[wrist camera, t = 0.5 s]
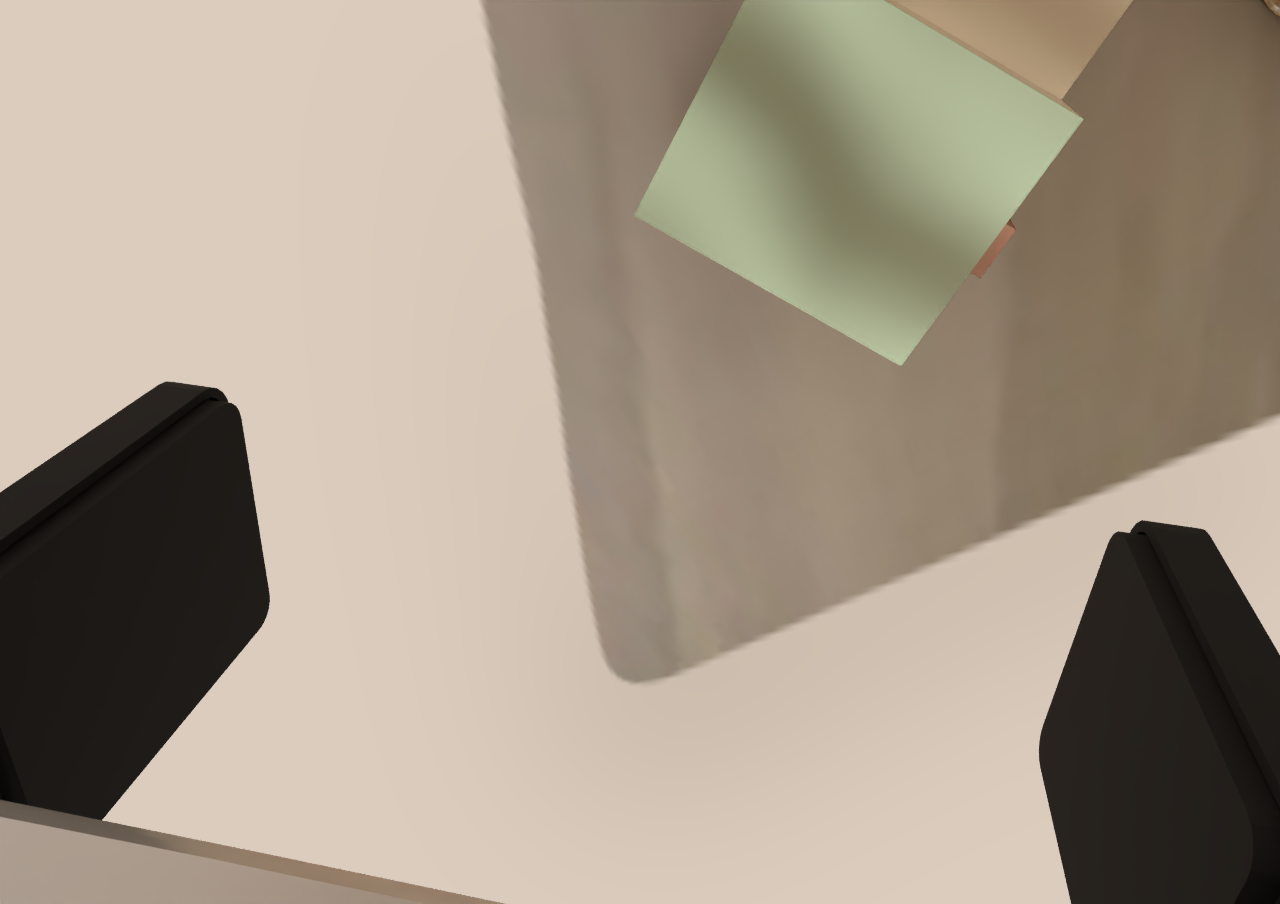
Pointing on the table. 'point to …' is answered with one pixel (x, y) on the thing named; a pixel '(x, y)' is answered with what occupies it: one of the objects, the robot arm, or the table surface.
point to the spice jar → (1274, 6)
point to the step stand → (873, 149)
